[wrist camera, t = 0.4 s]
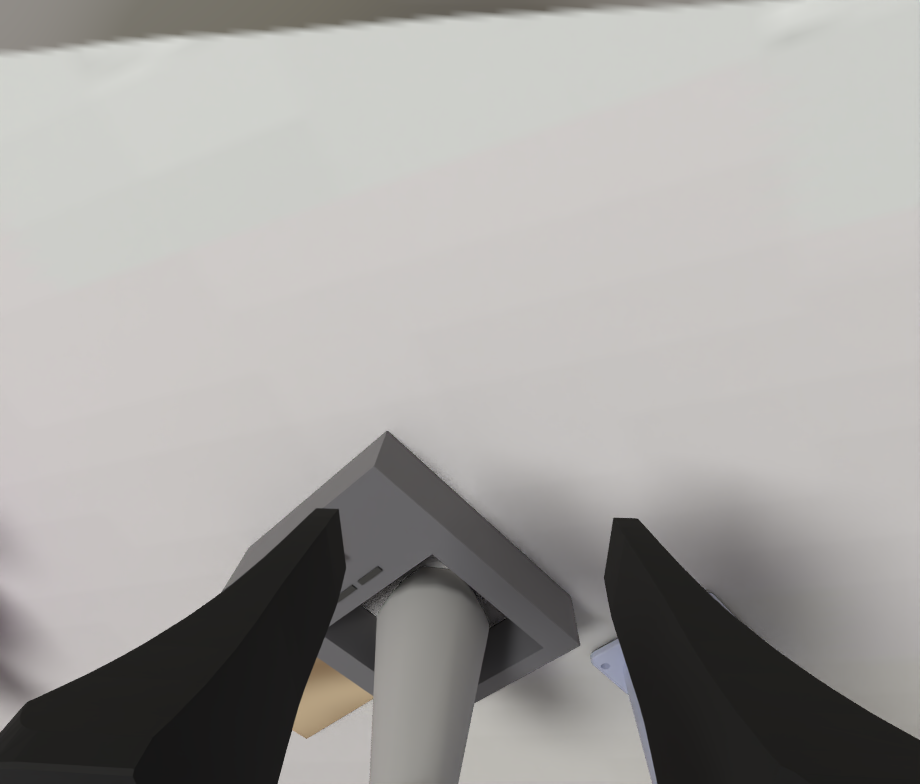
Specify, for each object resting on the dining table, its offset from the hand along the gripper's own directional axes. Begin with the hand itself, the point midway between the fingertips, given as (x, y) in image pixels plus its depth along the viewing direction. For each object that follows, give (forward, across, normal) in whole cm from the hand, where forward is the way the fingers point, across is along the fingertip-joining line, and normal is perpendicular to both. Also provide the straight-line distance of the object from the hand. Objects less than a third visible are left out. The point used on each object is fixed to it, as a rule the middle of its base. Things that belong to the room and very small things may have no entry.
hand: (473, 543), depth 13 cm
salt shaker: (+10, +2, +13) cm, 16 cm away
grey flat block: (+10, +4, +11) cm, 16 cm away
